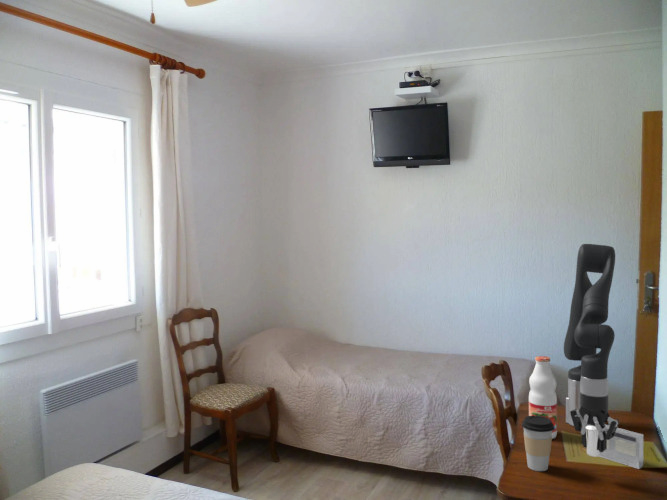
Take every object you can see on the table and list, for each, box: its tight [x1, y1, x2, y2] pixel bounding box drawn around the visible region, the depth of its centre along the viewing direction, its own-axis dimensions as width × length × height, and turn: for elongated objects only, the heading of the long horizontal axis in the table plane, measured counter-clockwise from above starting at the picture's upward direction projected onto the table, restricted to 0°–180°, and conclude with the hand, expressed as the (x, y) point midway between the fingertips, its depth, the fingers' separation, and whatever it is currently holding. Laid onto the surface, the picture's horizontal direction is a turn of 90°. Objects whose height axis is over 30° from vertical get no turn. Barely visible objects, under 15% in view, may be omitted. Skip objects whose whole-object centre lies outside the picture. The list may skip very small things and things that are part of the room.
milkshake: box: [585, 424, 600, 458], centre depth 165 cm, size 4×5×10 cm
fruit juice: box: [528, 355, 558, 440], centre depth 199 cm, size 9×9×28 cm
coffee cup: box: [521, 415, 554, 472], centre depth 174 cm, size 9×9×15 cm
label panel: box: [598, 423, 644, 470], centre depth 178 cm, size 16×3×10 cm, turn 39°
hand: (593, 448), depth 165 cm, fingers closed on milkshake, 4 cm apart
